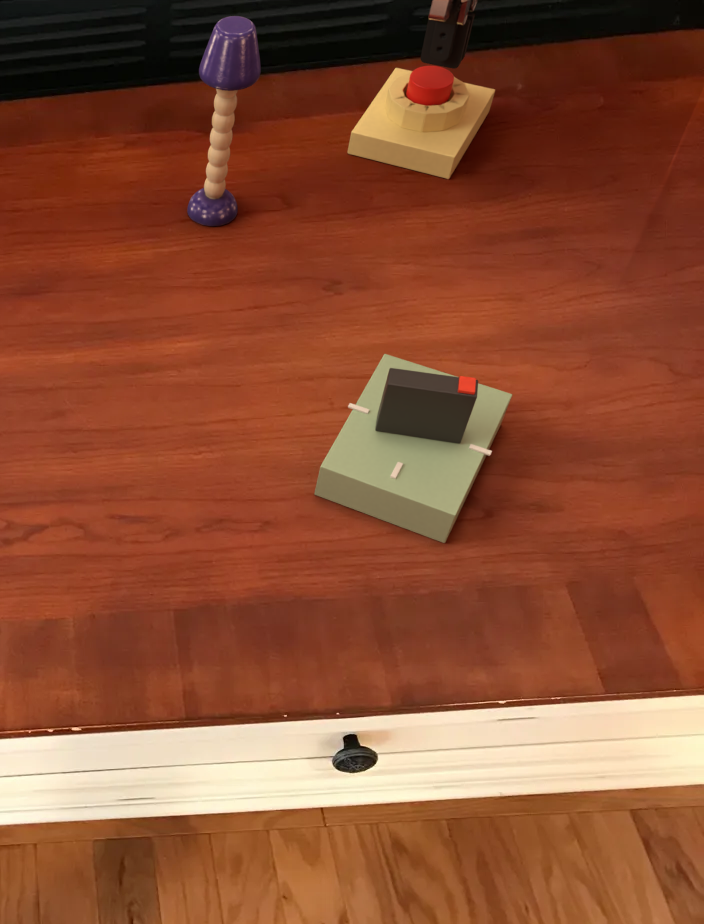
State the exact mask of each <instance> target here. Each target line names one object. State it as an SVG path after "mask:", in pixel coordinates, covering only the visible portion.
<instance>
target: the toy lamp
mask: <svg viewBox="0 0 704 924" xmlns="http://www.w3.org/2000/svg"><path fill="white" fill-rule="evenodd" d="M261 68H262V67H261V57H260V51H259V42H258V34H257V29H256V25H255V23H254V22H253V21H251V20H250V19H249V18H246V17H244V16H239V15H232V16H231V15H230V16H226V17H223V18H221V19H219V21H217V22H216V24H215V25H214V27H213V30H212V32H211V35H210V37H209V40H208V42H207V45H206V48H205V50H204V53H203V55H202V59H201V61H200V64H199V68H198V75H199V78H200V80H201V81H202V82H203V83H204V84H206V86H209V87H211V88H213V89H215V91H216V94H215V96H214V99H213V107H214V112H213V114H212V116H211V125H212V128H211V131H210V133H209V142H210V145H209V148H208V150H207V160H208V163H207V164H206V167H205V175H206V179H205V181H204V184H203V187H202V188H201V189H198V190H197V191H196V192H194V194H193V195H192V196H191V197H190V200H189V201H188V203H187V204H188V205H187V208H186V210H187V211H186V212H187V216H188V217H189V218H190V219H191V220H192V221H193V222H195V223H196V224H200V225H202V226H208V227H219V226H224V225H227V224H229V223H231V222H232V221H233V220H235V218H236V217H237V214H238V209H239V207H238V203H237V200H236V198H235V196H234V195H233V193H232V192H230V191H229V190H228V189H226V185H227V183H226V177H227V175H228V172H229V171H228V170H229V166H228V162H229V161H230V157H231V149H230V146H231V144H232V141H233V130H232V129H233V127H234V125H235V120H236V119H235V111H236V108H237V105H238V97H237V93H238V91H240V90H245V89H247V88H250V87H252V86H253V85H255V84H256V83H257V82H258V80H259V79H260V75H261V72H262V71H261V70H262V69H261Z"/></svg>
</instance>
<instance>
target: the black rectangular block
mask: <svg viewBox="0 0 704 924" xmlns="http://www.w3.org/2000/svg"><path fill="white" fill-rule="evenodd" d="M478 383H479V380H478V379H477V378H476V377H471V376H463V375H459V376H457V377H453V376H446V375H439V374H432V373H425V372H418V371H410V370H403V369H396V368H390V369H389V372H388V376H387V380H386V384H385V387H384V391H383V395H382V399H381V402H380V406H379V410H378V414H377V420H376V427H375V430H376V431H380V432H387V433H393V434H400V435H406V436H413V437H419V438H426V439H433V440H439V441H446V442H452V443H461V440H462V438H463V435H464V432H465V429H466V426H467V424H468V421H469V418H470V415H471V413H472V410H473V407H474V404H475V401H476V399H477V392H478Z"/></svg>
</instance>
